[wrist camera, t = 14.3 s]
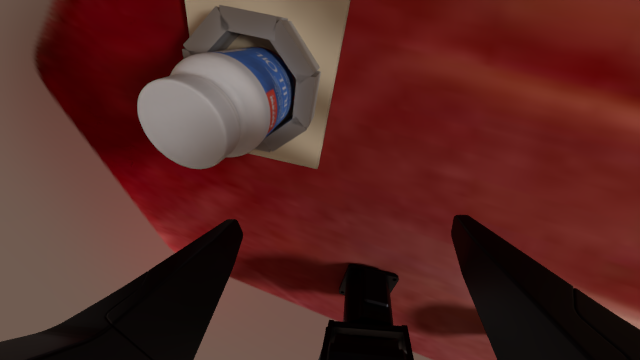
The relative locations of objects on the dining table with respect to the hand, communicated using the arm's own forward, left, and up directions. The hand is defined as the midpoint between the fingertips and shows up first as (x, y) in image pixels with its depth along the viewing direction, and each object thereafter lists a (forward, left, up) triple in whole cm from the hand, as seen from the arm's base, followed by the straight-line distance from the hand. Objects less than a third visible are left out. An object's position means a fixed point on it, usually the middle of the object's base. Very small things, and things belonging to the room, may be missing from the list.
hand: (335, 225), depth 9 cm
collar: (+2, +7, -12) cm, 14 cm away
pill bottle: (+2, +7, -11) cm, 14 cm away
